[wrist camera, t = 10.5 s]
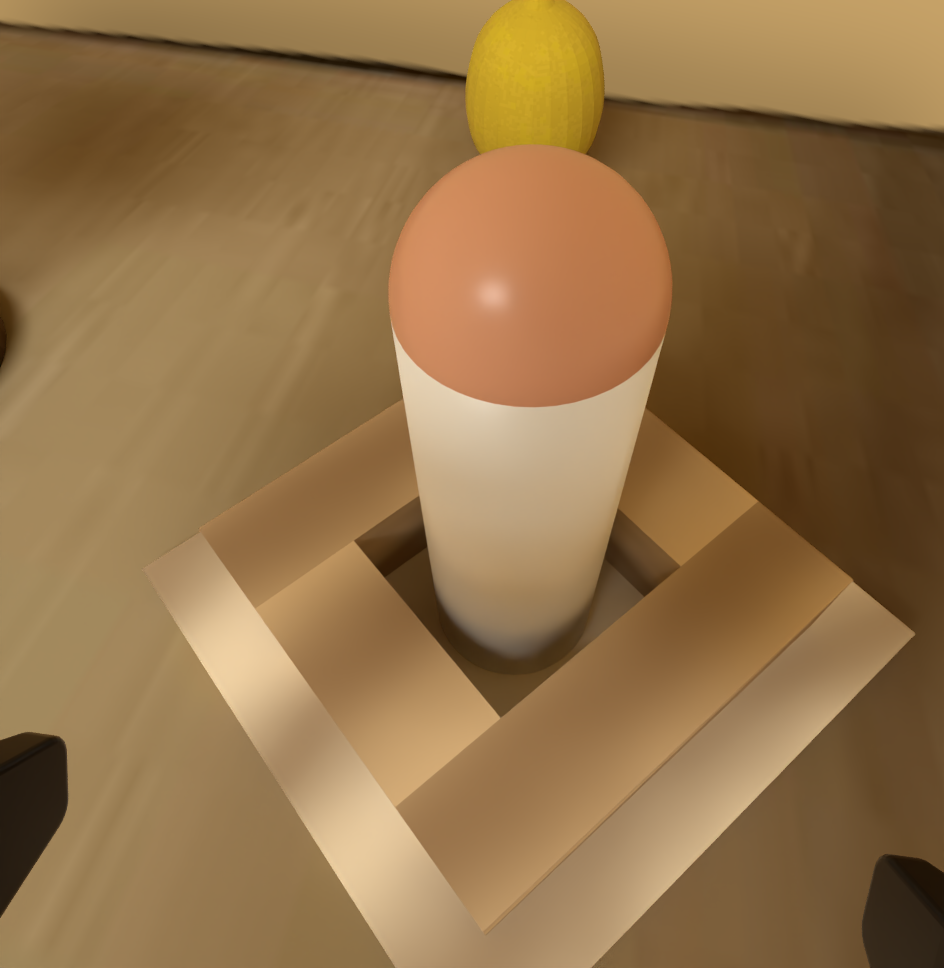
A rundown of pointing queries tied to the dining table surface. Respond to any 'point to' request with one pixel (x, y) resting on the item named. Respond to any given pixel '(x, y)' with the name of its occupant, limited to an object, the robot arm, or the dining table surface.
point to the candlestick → (2, 340)
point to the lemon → (535, 78)
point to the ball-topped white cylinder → (525, 387)
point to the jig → (518, 695)
